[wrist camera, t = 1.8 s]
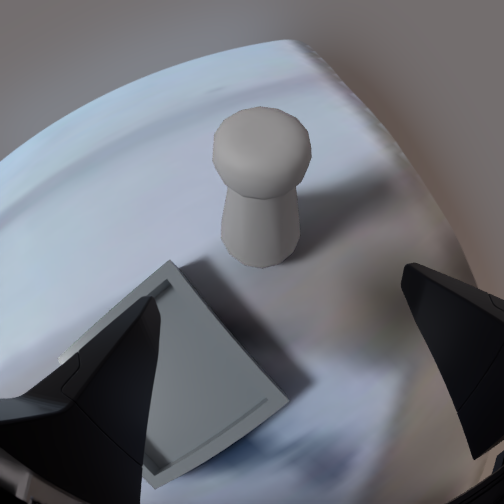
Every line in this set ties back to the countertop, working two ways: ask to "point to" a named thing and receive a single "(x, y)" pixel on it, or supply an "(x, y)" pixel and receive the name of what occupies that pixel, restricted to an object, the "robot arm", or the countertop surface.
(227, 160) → the salt shaker
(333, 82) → the countertop surface
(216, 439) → the tray
